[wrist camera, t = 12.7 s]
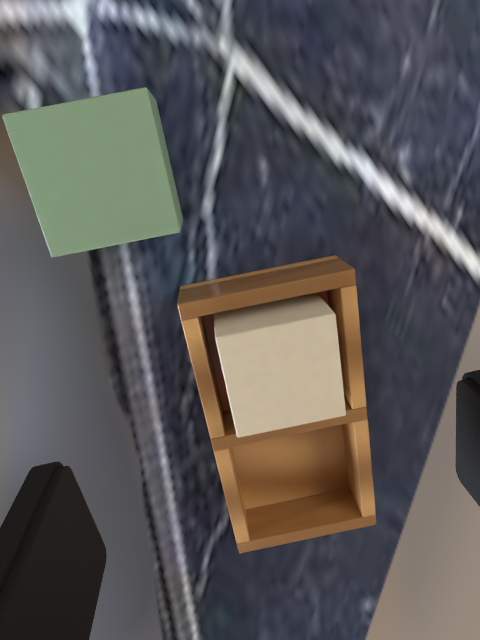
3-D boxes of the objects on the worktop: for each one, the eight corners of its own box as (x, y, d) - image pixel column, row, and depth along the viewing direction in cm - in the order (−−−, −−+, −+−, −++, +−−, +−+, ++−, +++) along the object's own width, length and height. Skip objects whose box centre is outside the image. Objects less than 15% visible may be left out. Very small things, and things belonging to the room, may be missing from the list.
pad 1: (35, 122, 19) (0, 114, 16) (155, 99, 19) (146, 86, 16) (74, 242, 21) (51, 258, 18) (183, 220, 21) (180, 232, 18)
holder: (179, 285, 22) (176, 304, 20) (335, 254, 23) (355, 268, 20) (235, 513, 28) (239, 554, 25) (358, 487, 28) (376, 525, 26)
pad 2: (212, 310, 22) (214, 338, 19) (315, 290, 22) (335, 313, 19) (232, 400, 24) (237, 438, 21) (326, 380, 24) (346, 415, 21)
